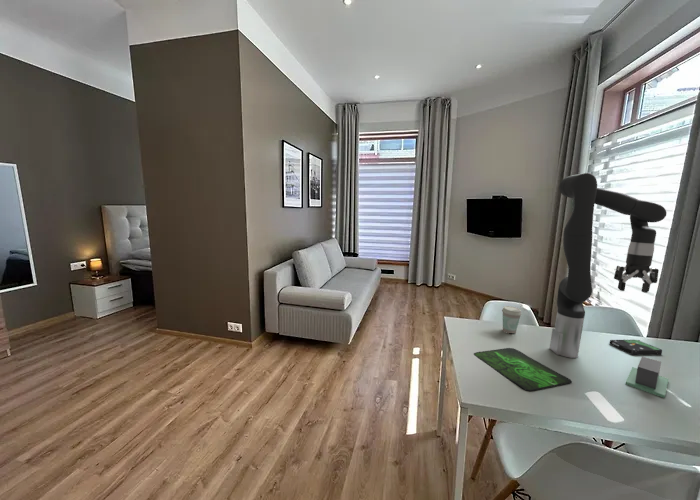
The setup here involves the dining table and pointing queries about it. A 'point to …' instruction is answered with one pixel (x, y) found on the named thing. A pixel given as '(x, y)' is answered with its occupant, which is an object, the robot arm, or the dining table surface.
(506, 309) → the coffee cup
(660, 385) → the green flat rectangular block
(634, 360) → the dining table surface
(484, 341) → the dining table surface
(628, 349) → the disk drive
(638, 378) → the block
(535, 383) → the mouse mat
